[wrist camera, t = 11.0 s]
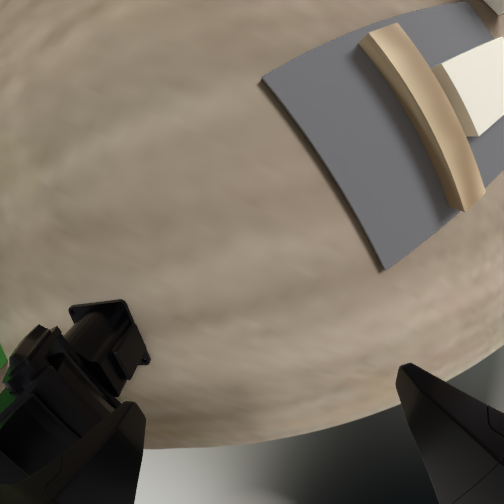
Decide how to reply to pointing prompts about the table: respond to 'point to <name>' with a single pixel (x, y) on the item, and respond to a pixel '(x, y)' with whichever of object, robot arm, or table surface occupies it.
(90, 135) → the table surface
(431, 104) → the ledge
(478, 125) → the tile
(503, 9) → the medicine bottle
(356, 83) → the mat
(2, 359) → the hardback book
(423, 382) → the robot arm
